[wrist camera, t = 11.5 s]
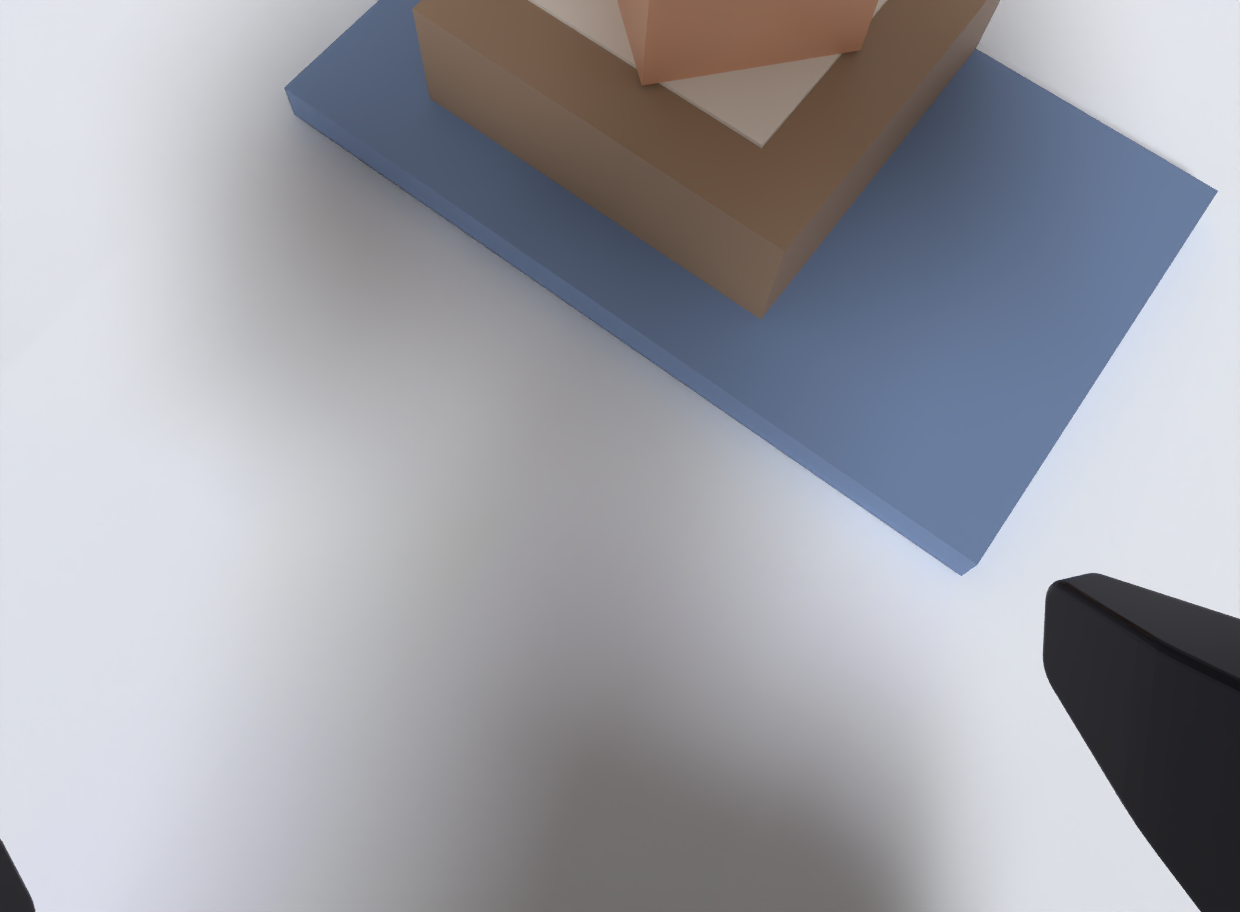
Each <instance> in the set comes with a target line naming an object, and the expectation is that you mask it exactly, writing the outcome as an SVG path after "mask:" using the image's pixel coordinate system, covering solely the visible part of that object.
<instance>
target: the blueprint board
mask: <svg viewBox="0 0 1240 912" xmlns="http://www.w3.org/2000/svg"><path fill="white" fill-rule="evenodd" d="M999 1H1000V0H878V3H877V6H876V9H875V11H874V14H873V17H872V20H871V23H870V25H869V28H868V31H867V34H866V37H865V39H864V42H863V45H862V48H861V50H860V51H853V52H847V53H841V54H835V55H829V56H822V57H816V58H810V59H804V60H798V61H792V62H785V63H779V64H773V65H767V66H761V67H754V68H748V69H742V70H736V71H730V72H724V73H717V74H711V75H705V76H699V77H693V78H686V79H680V80H674V81H668V82H662V83H656V84H649V85H643V86H642V85H641V82H640V79H639V75H638V72H637V68H636V65H635V61H634V58H633V54H632V51H631V47H630V44H629V40H628V37H627V33H626V30H625V26H624V23H623V19H622V16H621V12H620V9H619V5H618V2H617V0H379V1H378V2H377V3H376V4H375V5H374V6H373V7H371V8H370V9H369V10H368V11H367V12H366V13H365V14H364V15H363V16H362V17H361V18H360V19H358V20H357V21H356V22H355V23H354V24H353V25H352V26H351V27H350V28H349V29H348V30H346V31H345V32H344V33H343V34H342V35H341V36H340V37H339V38H338V39H337V40H336V41H335V42H333V43H332V44H331V45H330V46H329V47H328V48H327V49H326V50H325V51H324V52H323V53H322V54H320V55H319V56H318V57H317V58H316V59H315V60H314V61H313V62H312V63H311V64H310V65H309V66H307V67H306V68H305V69H304V70H303V71H302V72H301V73H300V74H299V75H298V76H297V77H296V78H294V79H293V80H292V81H291V82H290V83H289V84H288V85H287V86H286V87H285V88H284V89H285V91H286V94H287V96H288V99H289V102H290V104H291V107H292V109H293V112H294V114H295V115H296V116H298V117H299V118H301V119H302V120H304V121H305V122H307V123H308V124H309V125H311V126H312V127H314V128H315V129H317V130H318V131H320V132H321V133H322V134H324V135H325V136H327V137H328V138H330V139H331V140H333V141H334V142H335V143H337V144H338V145H340V146H341V147H343V148H344V149H346V150H347V151H348V152H350V153H351V154H353V155H354V156H356V157H357V158H359V159H360V160H361V161H363V162H364V163H366V164H367V165H369V166H370V167H372V168H373V169H374V170H376V171H377V172H379V173H380V174H382V175H383V176H385V177H386V178H387V179H389V180H390V181H392V182H393V183H395V184H396V185H398V186H399V187H400V188H402V189H403V190H405V191H406V192H408V193H409V194H411V195H412V196H413V197H415V198H416V199H418V200H419V201H421V202H422V203H424V204H425V205H426V206H428V207H429V208H431V209H432V210H434V211H435V212H437V213H438V214H439V215H441V216H442V217H444V218H445V219H447V220H448V221H450V222H451V223H452V224H454V225H455V226H457V227H458V228H460V229H461V230H463V231H464V232H465V233H467V234H468V235H470V236H471V237H473V238H474V239H476V240H477V241H478V242H480V243H481V244H483V245H484V246H486V247H487V248H489V249H490V250H491V251H493V252H494V253H496V254H497V255H499V256H500V257H502V258H503V259H504V260H506V261H507V262H509V263H510V264H512V265H513V266H515V267H516V268H517V269H519V270H520V271H522V272H523V273H525V274H526V275H528V276H529V277H530V278H532V279H533V280H535V281H536V282H538V283H539V284H541V285H542V286H543V287H545V288H546V289H548V290H549V291H551V292H552V293H554V294H555V295H556V296H558V297H559V298H561V299H562V300H564V301H565V302H567V303H568V304H569V305H571V306H572V307H574V308H575V309H577V310H578V311H579V312H581V313H582V314H584V315H585V316H587V317H588V318H590V319H591V320H592V321H594V322H595V323H597V324H598V325H600V326H601V327H603V328H604V329H605V330H607V331H608V332H610V333H611V334H613V335H614V336H616V337H617V338H618V339H620V340H621V341H623V342H624V343H626V344H627V345H629V346H630V347H631V348H633V349H634V350H636V351H637V352H639V353H640V354H642V355H643V356H644V357H646V358H647V359H649V360H650V361H652V362H653V363H655V364H656V365H657V366H659V367H660V368H662V369H663V370H665V371H666V372H668V373H669V374H670V375H672V376H673V377H675V378H676V379H678V380H679V381H681V382H682V383H683V384H685V385H686V386H688V387H689V388H691V389H692V390H694V391H695V392H696V393H698V394H699V395H701V396H702V397H704V398H705V399H707V400H708V401H709V402H711V403H712V404H714V405H715V406H717V407H718V408H720V409H721V410H722V411H724V412H725V413H727V414H728V415H730V416H731V417H733V418H734V419H735V420H737V421H738V422H740V423H741V424H743V425H744V426H746V427H747V428H748V429H750V430H751V431H753V432H754V433H756V434H757V435H759V436H760V437H761V438H763V439H764V440H766V441H767V442H769V443H770V444H772V445H773V446H774V447H776V448H777V449H779V450H780V451H782V452H783V453H785V454H786V455H787V456H789V457H790V458H792V459H793V460H795V461H796V462H798V463H799V464H800V465H802V466H803V467H805V468H806V469H808V470H809V471H811V472H812V473H813V474H815V475H816V476H818V477H819V478H821V479H822V480H824V481H825V482H826V483H828V484H829V485H831V486H832V487H834V488H835V489H837V490H838V491H839V492H841V493H842V494H844V495H845V496H847V497H848V498H850V499H851V500H852V501H854V502H855V503H857V504H858V505H860V506H861V507H863V508H864V509H865V510H867V511H868V512H870V513H871V514H873V515H874V516H876V517H877V518H878V519H880V520H881V521H883V522H884V523H886V524H887V525H889V526H890V527H891V528H893V529H894V530H896V531H897V532H899V533H900V534H902V535H903V536H904V537H906V538H907V539H909V540H910V541H912V542H913V543H915V544H916V545H917V546H919V547H920V548H922V549H923V550H925V551H926V552H928V553H929V554H930V555H932V556H933V557H935V558H936V559H938V560H939V561H941V562H942V563H943V564H945V565H946V566H948V567H949V568H951V569H952V570H954V571H955V572H956V573H958V574H959V575H961V576H962V575H963V574H965V573H966V572H968V571H969V570H970V569H972V568H973V567H975V566H976V565H977V564H978V563H979V561H980V560H981V558H982V557H983V555H984V553H985V552H986V550H987V549H988V547H989V546H990V544H991V543H992V541H993V539H994V538H995V536H996V535H997V533H998V532H999V530H1000V529H1001V527H1002V525H1003V524H1004V522H1005V521H1006V519H1007V518H1008V516H1009V515H1010V513H1011V512H1012V510H1013V508H1014V507H1015V505H1016V504H1017V502H1018V501H1019V499H1020V498H1021V496H1022V494H1023V493H1024V491H1025V490H1026V488H1027V487H1028V485H1029V484H1030V482H1031V480H1032V479H1033V477H1034V476H1035V474H1036V473H1037V471H1038V470H1039V468H1040V466H1041V465H1042V463H1043V462H1044V460H1045V459H1046V457H1047V456H1048V454H1049V453H1050V451H1051V449H1052V448H1053V446H1054V445H1055V443H1056V442H1057V440H1058V439H1059V437H1060V435H1061V434H1062V432H1063V431H1064V429H1065V428H1066V426H1067V425H1068V423H1069V421H1070V420H1071V418H1072V417H1073V415H1074V414H1075V412H1076V411H1077V409H1078V407H1079V406H1080V404H1081V403H1082V401H1083V400H1084V398H1085V397H1086V395H1087V394H1088V392H1089V390H1090V389H1091V387H1092V386H1093V384H1094V383H1095V381H1096V380H1097V378H1098V376H1099V375H1100V373H1101V372H1102V370H1103V369H1104V367H1105V366H1106V364H1107V362H1108V361H1109V359H1110V358H1111V356H1112V355H1113V353H1114V352H1115V350H1116V348H1117V347H1118V345H1119V344H1120V342H1121V341H1122V339H1123V338H1124V336H1125V334H1126V333H1127V331H1128V330H1129V328H1130V327H1131V325H1132V324H1133V322H1134V321H1135V319H1136V317H1137V316H1138V314H1139V313H1140V311H1141V310H1142V308H1143V307H1144V305H1145V303H1146V302H1147V300H1148V299H1149V297H1150V296H1151V294H1152V293H1153V291H1154V289H1155V288H1156V286H1157V285H1158V283H1159V282H1160V280H1161V279H1162V277H1163V275H1164V274H1165V272H1166V271H1167V269H1168V268H1169V266H1170V265H1171V263H1172V262H1173V260H1174V258H1175V257H1176V255H1177V254H1178V252H1179V251H1180V249H1181V248H1182V246H1183V244H1184V243H1185V241H1186V240H1187V238H1188V237H1189V235H1190V234H1191V232H1192V230H1193V229H1194V227H1195V226H1196V224H1197V223H1198V221H1199V220H1200V218H1201V216H1202V215H1203V213H1204V212H1205V210H1206V209H1207V207H1208V206H1209V204H1210V203H1211V201H1212V199H1213V198H1214V196H1215V195H1216V193H1217V192H1218V191H1217V190H1215V189H1214V188H1212V187H1210V186H1208V185H1207V184H1205V183H1203V182H1202V181H1200V180H1198V179H1197V178H1195V177H1193V176H1191V175H1190V174H1188V173H1186V172H1185V171H1183V170H1181V169H1180V168H1178V167H1176V166H1174V165H1173V164H1171V163H1169V162H1168V161H1166V160H1164V159H1163V158H1161V157H1159V156H1157V155H1156V154H1154V153H1152V152H1151V151H1149V150H1147V149H1146V148H1144V147H1142V146H1140V145H1139V144H1137V143H1135V142H1134V141H1132V140H1130V139H1129V138H1127V137H1125V136H1123V135H1122V134H1120V133H1118V132H1117V131H1115V130H1113V129H1112V128H1110V127H1108V126H1106V125H1105V124H1103V123H1101V122H1100V121H1098V120H1096V119H1095V118H1093V117H1091V116H1089V115H1088V114H1086V113H1084V112H1083V111H1081V110H1079V109H1077V108H1076V107H1074V106H1072V105H1071V104H1069V103H1067V102H1066V101H1064V100H1062V99H1060V98H1059V97H1057V96H1055V95H1054V94H1052V93H1050V92H1049V91H1047V90H1045V89H1043V88H1042V87H1040V86H1038V85H1037V84H1035V83H1033V82H1032V81H1030V80H1028V79H1026V78H1025V77H1023V76H1021V75H1020V74H1018V73H1016V72H1015V71H1013V70H1011V69H1009V68H1008V67H1006V66H1004V65H1003V64H1001V63H999V62H998V61H996V60H994V59H992V58H991V57H989V56H987V55H986V54H984V53H982V52H981V51H979V50H977V49H976V47H977V45H978V43H979V41H980V39H981V37H982V35H983V33H984V31H985V29H986V27H987V25H988V23H989V21H990V19H991V17H992V15H993V13H994V11H995V9H996V7H997V5H998V3H999Z"/></svg>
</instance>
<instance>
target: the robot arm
mask: <svg viewBox="0 0 1240 912" xmlns="http://www.w3.org/2000/svg"><path fill="white" fill-rule="evenodd" d="M1043 663H1044V669H1045V672H1046V675H1047V678H1048V680H1049V683H1050V684H1051V686H1052V688H1053V690H1054V691H1055V693H1056V695H1057V696H1058V698H1059V700H1060V701H1061V703H1062V705H1063V706H1064V708H1065V710H1066V711H1067V713H1068V715H1069V716H1070V718H1071V720H1072V721H1073V723H1074V724H1075V726H1076V728H1077V729H1078V731H1079V733H1080V734H1081V736H1082V738H1083V739H1084V741H1085V743H1086V744H1087V746H1088V748H1089V749H1090V751H1091V753H1092V754H1093V756H1094V758H1095V759H1096V761H1097V762H1098V764H1099V766H1100V767H1101V769H1102V771H1103V772H1104V774H1105V776H1106V777H1107V779H1108V781H1109V782H1110V784H1111V786H1112V787H1113V789H1114V791H1115V792H1116V794H1117V796H1118V797H1119V799H1120V800H1121V802H1122V804H1123V805H1124V807H1125V808H1126V810H1127V811H1128V813H1129V815H1130V816H1131V818H1132V819H1133V821H1134V822H1135V824H1136V825H1137V827H1138V828H1139V830H1140V831H1141V832H1142V834H1143V835H1144V837H1145V838H1146V839H1147V841H1148V842H1149V844H1150V845H1151V846H1152V848H1153V849H1154V850H1155V852H1156V853H1157V854H1158V856H1159V857H1160V858H1161V860H1162V861H1163V862H1164V864H1165V865H1166V866H1167V868H1168V869H1169V870H1170V872H1171V873H1172V874H1173V876H1174V877H1175V878H1176V880H1177V881H1178V882H1179V884H1180V885H1181V886H1182V887H1183V889H1184V890H1185V891H1186V893H1187V894H1188V895H1189V897H1190V898H1191V899H1192V901H1193V902H1194V903H1195V905H1196V906H1197V907H1198V909H1199V910H1200V911H1201V912H1240V619H1238V618H1235V617H1232V616H1229V615H1226V614H1223V613H1220V612H1217V611H1214V610H1210V609H1207V608H1204V607H1201V606H1198V605H1195V604H1192V603H1189V602H1186V601H1183V600H1179V599H1176V598H1173V597H1170V596H1167V595H1164V594H1161V593H1158V592H1155V591H1152V590H1149V589H1145V588H1142V587H1139V586H1136V585H1133V584H1130V583H1127V582H1124V581H1121V580H1118V579H1114V578H1111V577H1108V576H1105V575H1102V574H1098V573H1089V574H1084V575H1080V576H1075V577H1071V578H1067V579H1062V580H1058V581H1056V582H1054V583H1053V584H1052V585H1051V586H1050V587H1049V589H1048V591H1047V594H1046V600H1045V621H1044V641H1043ZM0 912H35V908H34V904H33V901H32V898H31V896H30V894H29V892H28V890H27V888H26V886H25V884H24V882H23V880H22V878H21V877H20V875H19V873H18V871H17V869H16V867H15V865H14V863H13V861H12V859H11V857H10V855H9V854H8V852H7V850H6V848H5V846H4V844H3V842H2V841H1V839H0Z"/></svg>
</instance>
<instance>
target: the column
mask: <svg viewBox="0 0 1240 912" xmlns="http://www.w3.org/2000/svg"><path fill="white" fill-rule="evenodd" d="M617 2H618V5H619V9H620V12H621V16H622V19H623V23H624V26H625V30H626V33H627V37H628V40H629V44H630V47H631V51H632V54H633V58H634V61H635V65H636V68H637V72H638V75H639V79H640V82H641V85H642V86H643V85H649V84H656V83H662V82H668V81H674V80H680V79H686V78H693V77H699V76H705V75H711V74H717V73H724V72H730V71H736V70H742V69H748V68H754V67H761V66H767V65H773V64H779V63H785V62H792V61H798V60H804V59H810V58H816V57H822V56H829V55H835V54H841V53H847V52H853V51H860V50H861V48H862V45H863V42H864V39H865V37H866V34H867V31H868V28H869V25H870V23H871V20H872V17H873V14H874V11H875V9H876V6H877V3H878V0H617Z"/></svg>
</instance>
